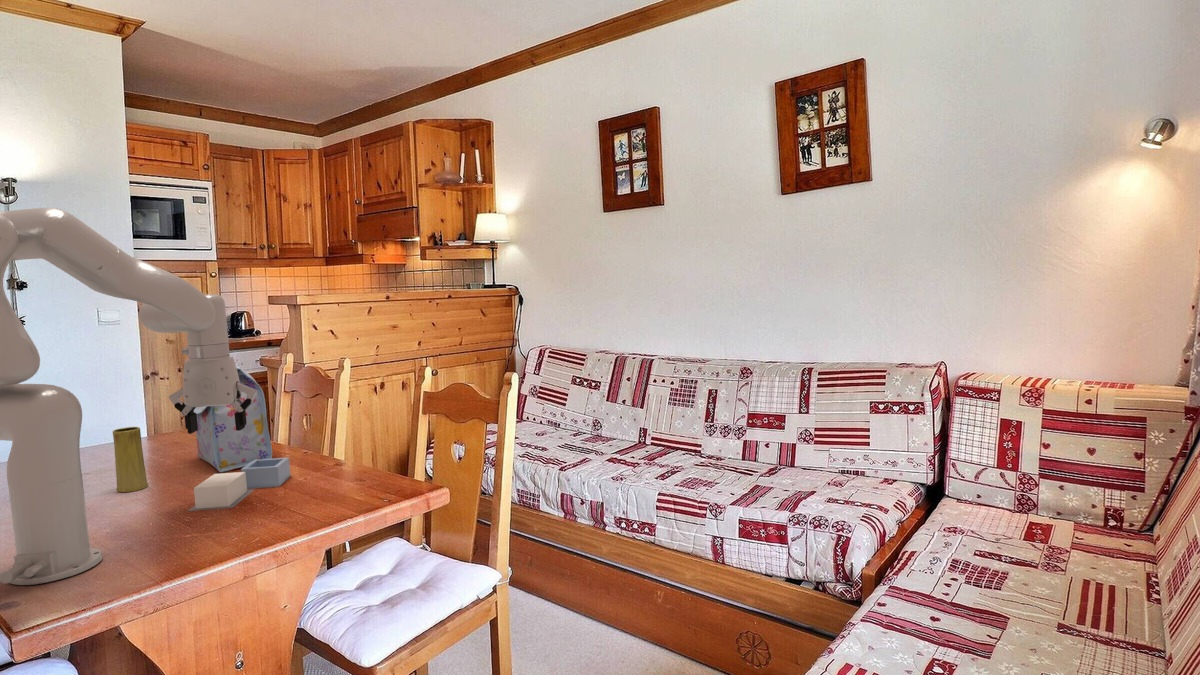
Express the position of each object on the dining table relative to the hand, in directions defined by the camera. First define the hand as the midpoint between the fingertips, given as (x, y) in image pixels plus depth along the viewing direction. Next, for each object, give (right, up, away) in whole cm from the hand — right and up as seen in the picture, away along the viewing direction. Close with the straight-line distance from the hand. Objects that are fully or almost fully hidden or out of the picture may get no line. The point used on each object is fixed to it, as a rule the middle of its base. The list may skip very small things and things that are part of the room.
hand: (217, 430), depth 144 cm
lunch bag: (-16, -13, +34) cm, 40 cm away
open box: (+4, -14, +13) cm, 20 cm away
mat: (0, -16, +1) cm, 16 cm away
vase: (-27, -16, +13) cm, 34 cm away
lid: (0, -15, +1) cm, 15 cm away
